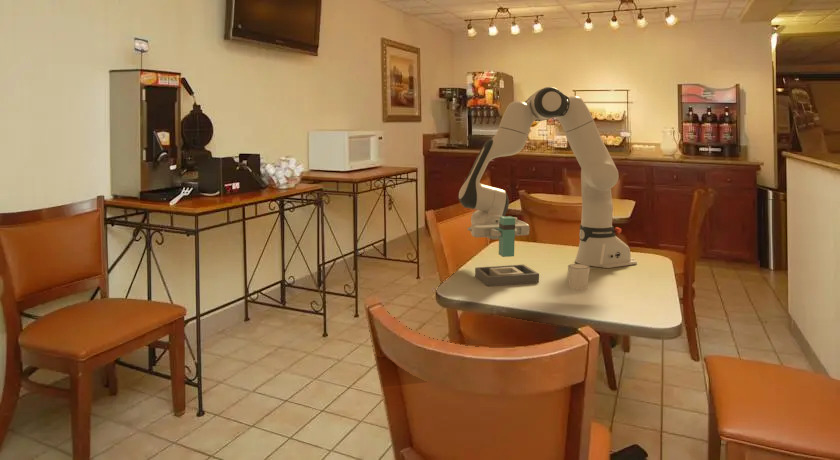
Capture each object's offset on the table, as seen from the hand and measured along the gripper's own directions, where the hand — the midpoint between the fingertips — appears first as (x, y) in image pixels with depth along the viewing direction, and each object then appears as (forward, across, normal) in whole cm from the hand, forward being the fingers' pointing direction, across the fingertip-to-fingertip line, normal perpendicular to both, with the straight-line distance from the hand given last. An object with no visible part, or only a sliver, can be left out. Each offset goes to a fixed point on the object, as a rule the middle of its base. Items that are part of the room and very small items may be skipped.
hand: (507, 234), depth 188 cm
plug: (-1, 0, +8) cm, 8 cm away
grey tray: (-1, 0, +16) cm, 16 cm away
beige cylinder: (+14, +19, +16) cm, 29 cm away
